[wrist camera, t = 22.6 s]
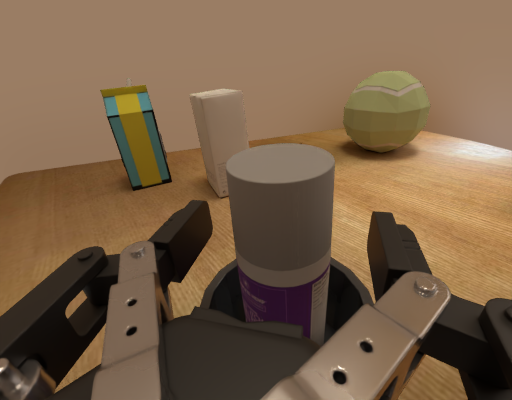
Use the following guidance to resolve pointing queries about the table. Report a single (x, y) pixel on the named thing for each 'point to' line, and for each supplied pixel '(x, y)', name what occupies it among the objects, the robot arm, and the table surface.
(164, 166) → the carton
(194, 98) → the cosmetic box
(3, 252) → the table surface
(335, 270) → the cylindrical pot
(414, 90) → the decorative sphere
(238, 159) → the container
